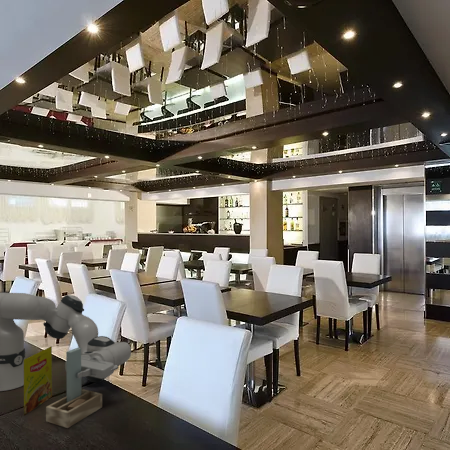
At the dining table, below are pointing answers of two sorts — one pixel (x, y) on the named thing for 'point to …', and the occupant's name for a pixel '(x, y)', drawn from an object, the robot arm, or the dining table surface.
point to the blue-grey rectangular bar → (73, 373)
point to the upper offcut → (76, 404)
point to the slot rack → (65, 418)
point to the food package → (37, 379)
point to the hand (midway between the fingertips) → (73, 374)
